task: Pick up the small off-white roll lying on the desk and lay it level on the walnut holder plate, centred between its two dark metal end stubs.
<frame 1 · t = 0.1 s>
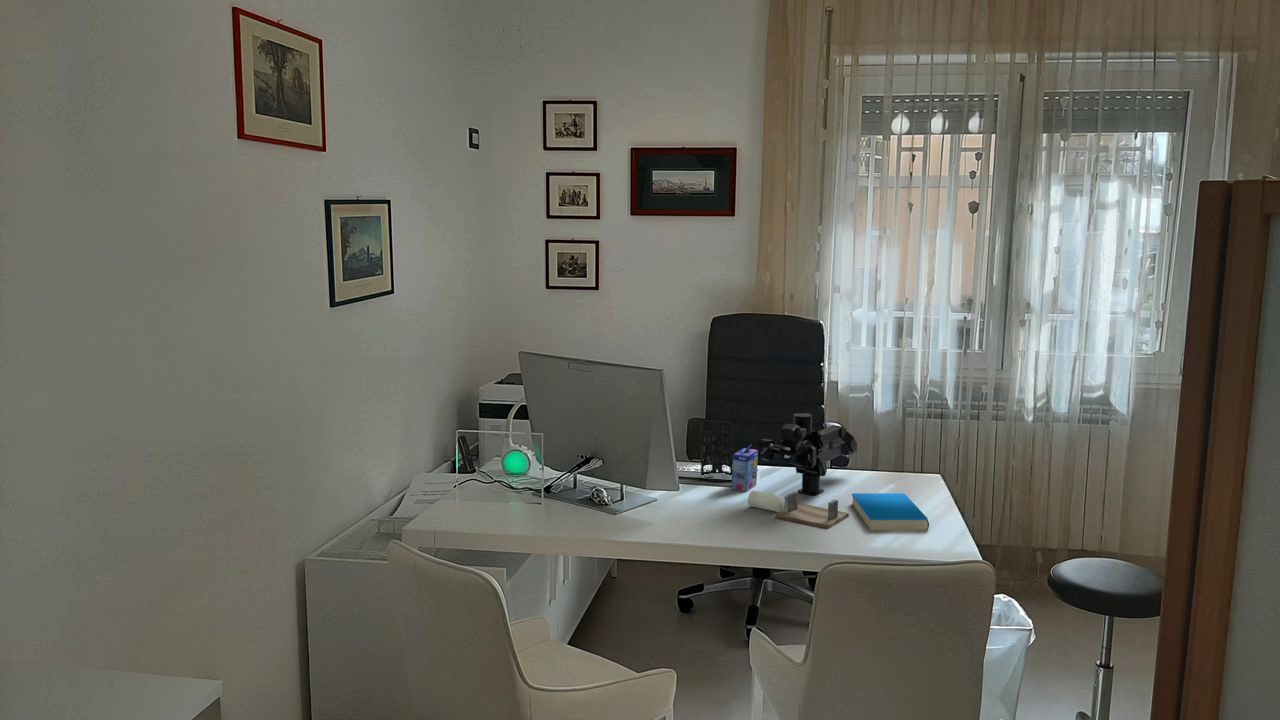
hand: (773, 458, 284), 17 cm above the table, tool horizontal, fingers open, 9 cm apart
holder: (716, 479, 322), on the table
book: (888, 518, 282), on the table
roll holder: (812, 516, 281), on the table
roll: (766, 509, 290), on the table
blue purple upright box: (744, 488, 312), on the table
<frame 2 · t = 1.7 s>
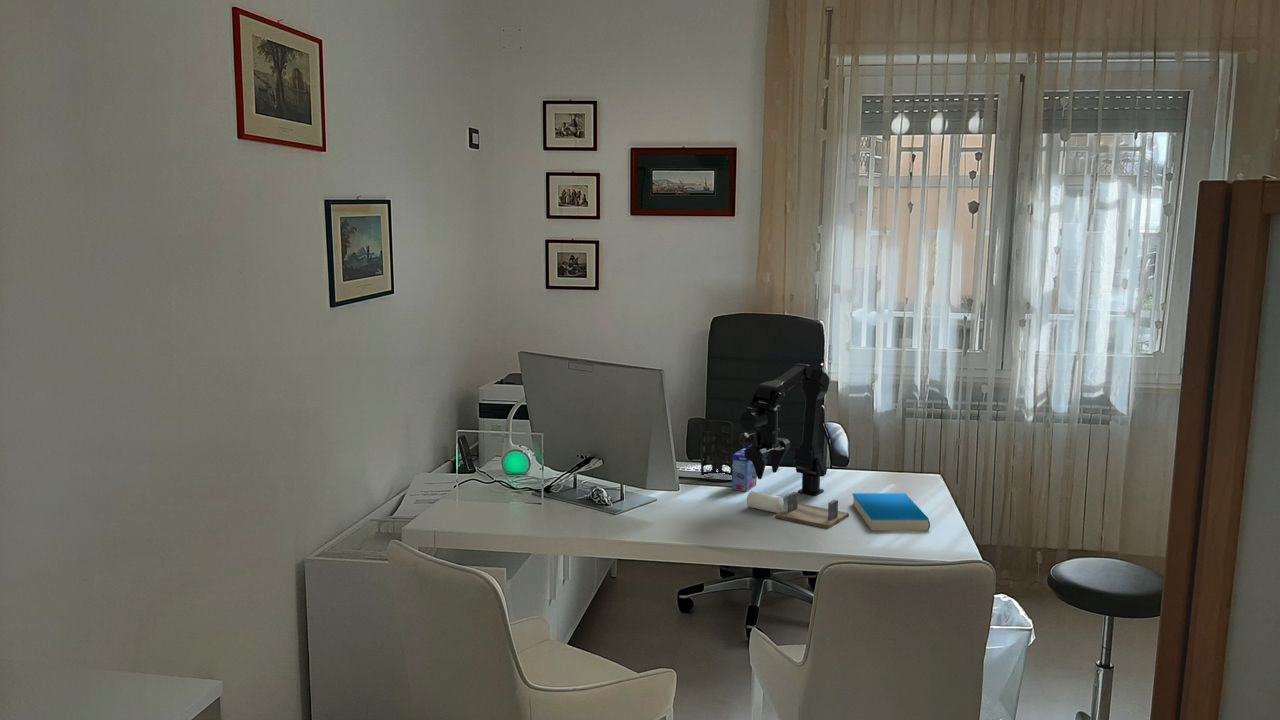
hand: (767, 475, 288), 10 cm above the table, tool pointing down, fingers open, 9 cm apart
roll: (766, 508, 290), on the table, tilted 21°
everything else where it was.
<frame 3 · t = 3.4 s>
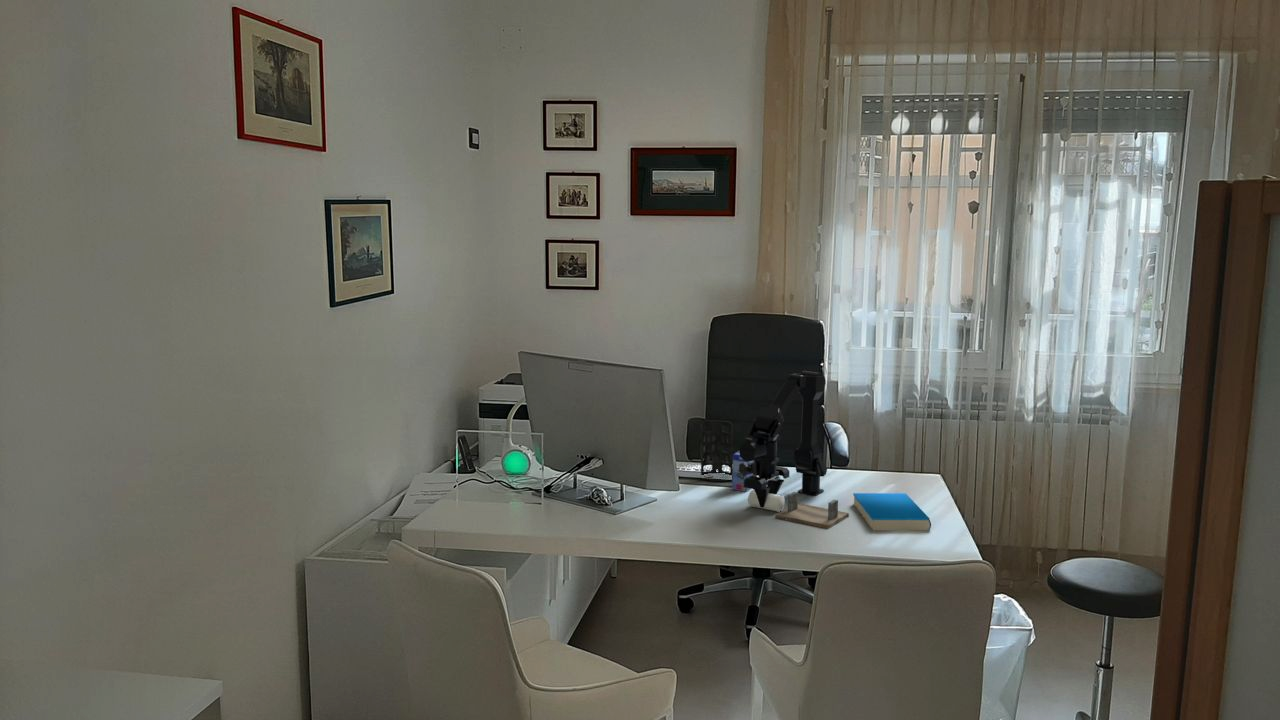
hand: (766, 504, 289), 1 cm above the table, tool pointing down, fingers closed on roll, 5 cm apart
roll: (766, 508, 290), on the table, touching gripper
everything else where it was.
when the fingers open (3 cm above the table, at t = 8.5 s): roll stays where it is, resting on roll holder.
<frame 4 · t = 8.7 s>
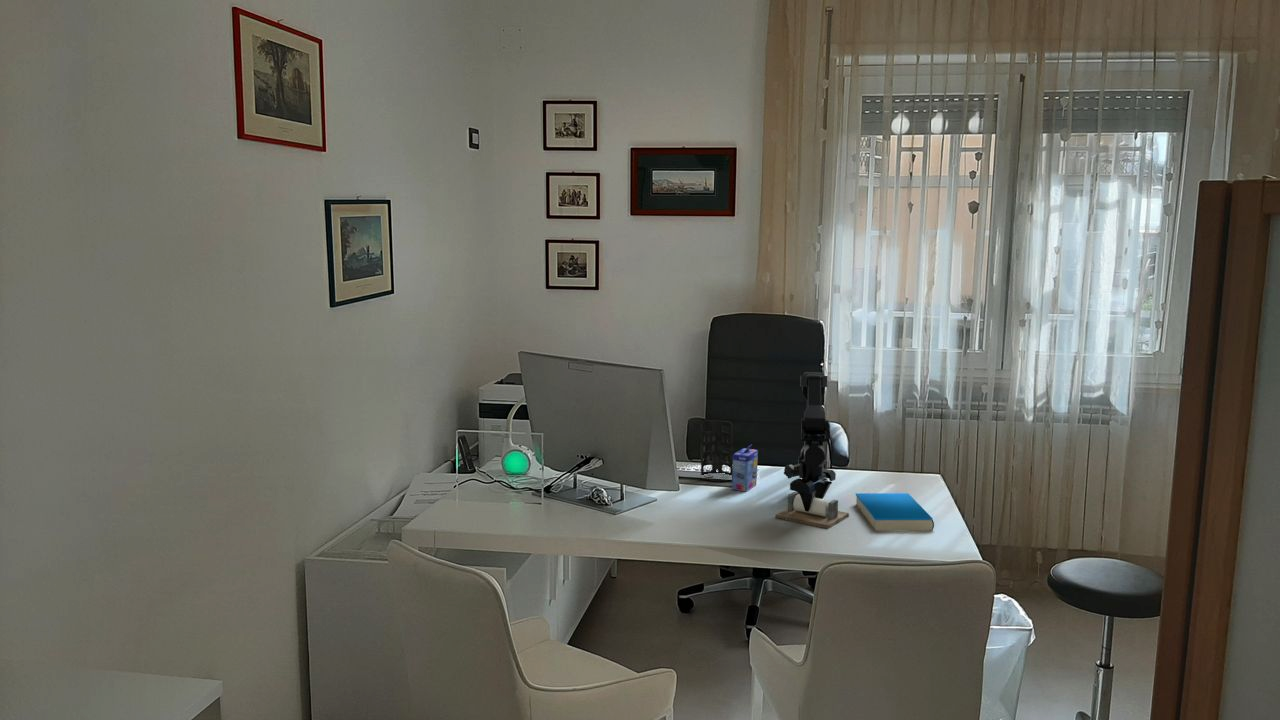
hand: (812, 508, 281), 3 cm above the table, tool pointing down, fingers open, 7 cm apart
roll: (812, 513, 281), point 1 cm above the table, touching roll holder
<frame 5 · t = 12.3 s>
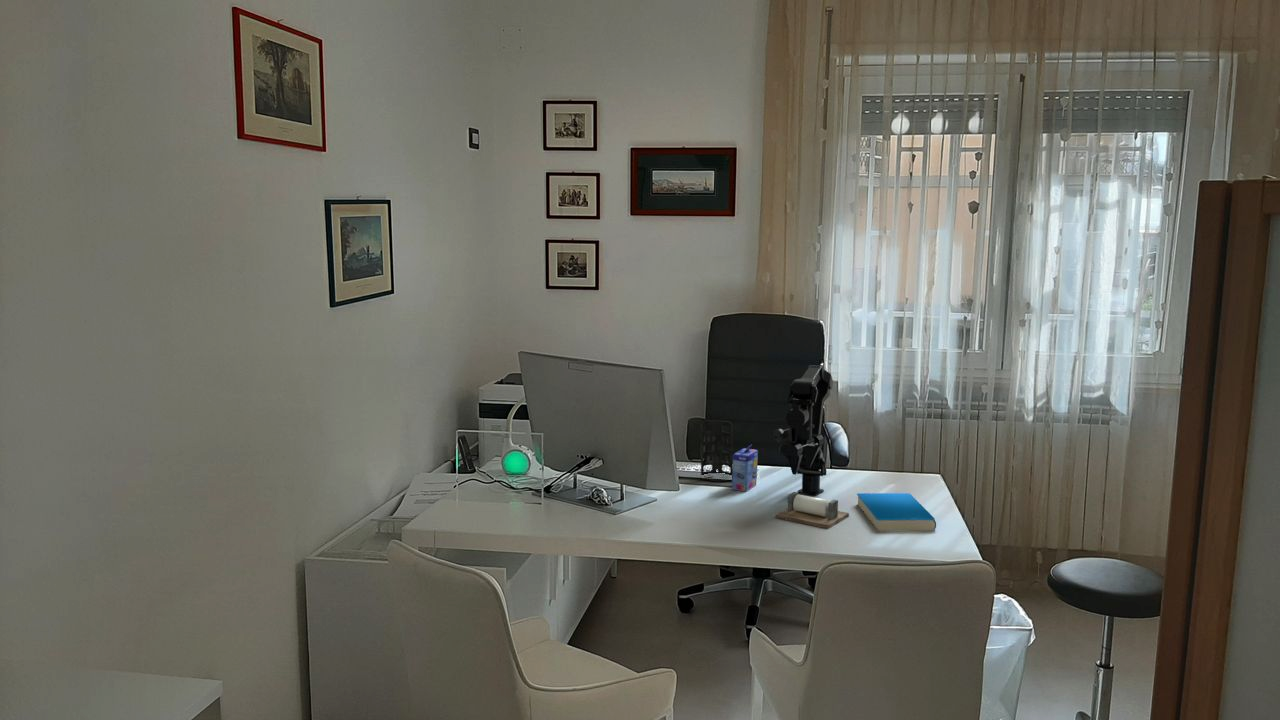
hand: (801, 471, 291), 11 cm above the table, tool pointing down, fingers open, 9 cm apart
at the end: roll 0.1 cm off-centre on the roll holder, point 1.0 cm above the roll holder's base; the gripper is holding nothing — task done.
